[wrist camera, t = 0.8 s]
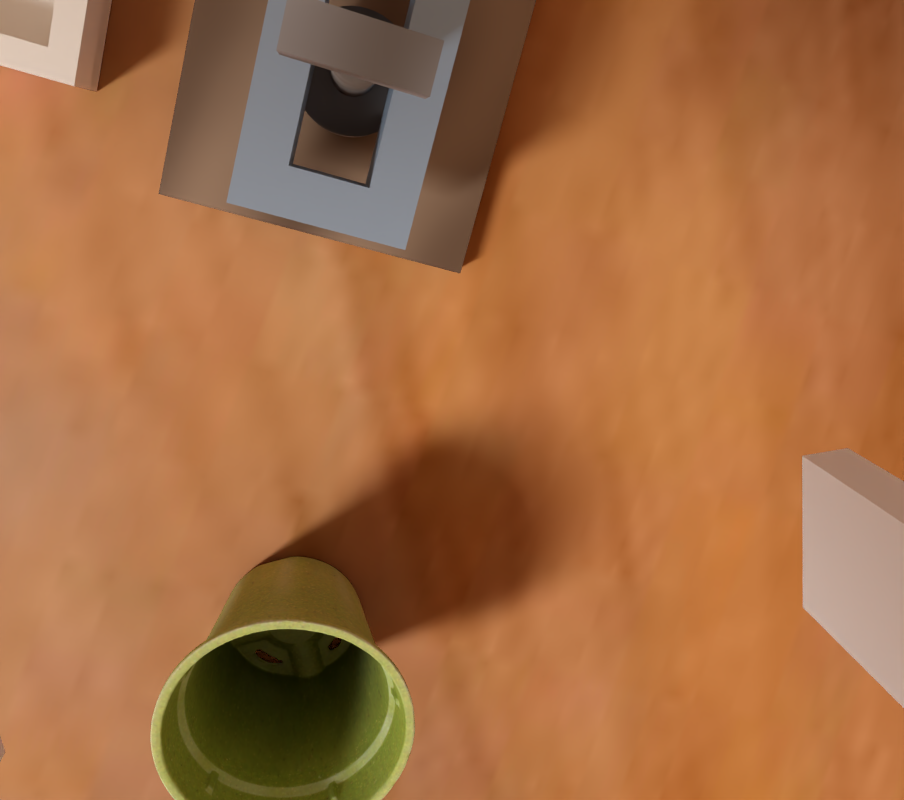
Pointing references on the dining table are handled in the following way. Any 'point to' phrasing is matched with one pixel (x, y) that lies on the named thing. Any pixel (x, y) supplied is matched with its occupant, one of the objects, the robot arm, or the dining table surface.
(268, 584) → the plant pot
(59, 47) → the tray
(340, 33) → the lever on base
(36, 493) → the dining table surface
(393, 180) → the grey slotted block
